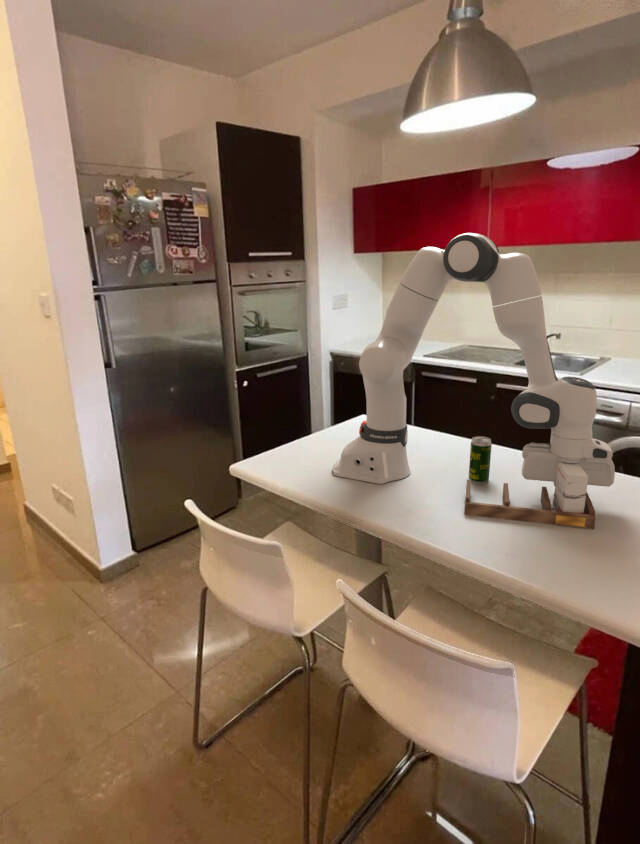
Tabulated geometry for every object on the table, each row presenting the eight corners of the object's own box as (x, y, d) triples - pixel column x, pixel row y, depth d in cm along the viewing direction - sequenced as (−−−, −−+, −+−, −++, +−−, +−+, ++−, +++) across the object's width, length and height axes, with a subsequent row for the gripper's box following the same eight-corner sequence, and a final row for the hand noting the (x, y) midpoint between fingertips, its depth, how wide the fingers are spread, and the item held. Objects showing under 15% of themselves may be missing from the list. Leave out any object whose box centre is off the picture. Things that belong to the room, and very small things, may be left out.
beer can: (477, 474, 145) (480, 434, 141) (492, 481, 140) (496, 440, 137) (464, 479, 142) (466, 438, 138) (479, 486, 138) (482, 444, 134)
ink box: (583, 523, 117) (590, 476, 113) (560, 522, 118) (566, 475, 114) (573, 506, 125) (579, 461, 121) (551, 505, 126) (557, 460, 122)
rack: (464, 515, 122) (465, 500, 121) (466, 493, 133) (467, 479, 132) (594, 530, 114) (596, 513, 113) (584, 505, 125) (586, 490, 124)
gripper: (524, 446, 122) (519, 498, 126) (620, 453, 116) (611, 508, 120) (522, 437, 128) (517, 488, 132) (614, 444, 122) (606, 496, 126)
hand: (563, 497), depth 126 cm, fingers closed
